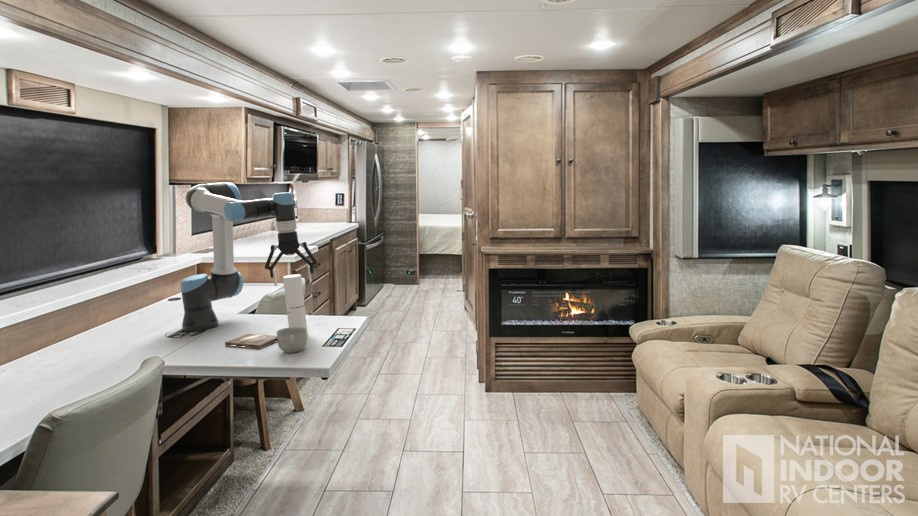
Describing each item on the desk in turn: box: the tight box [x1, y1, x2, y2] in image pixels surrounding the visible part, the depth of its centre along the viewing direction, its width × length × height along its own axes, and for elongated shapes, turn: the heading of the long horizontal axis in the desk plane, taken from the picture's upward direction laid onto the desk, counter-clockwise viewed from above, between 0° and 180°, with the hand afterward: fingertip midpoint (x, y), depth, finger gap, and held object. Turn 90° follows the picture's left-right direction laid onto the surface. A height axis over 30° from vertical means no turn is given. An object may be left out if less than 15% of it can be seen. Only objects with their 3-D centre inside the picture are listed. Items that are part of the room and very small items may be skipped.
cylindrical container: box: [282, 273, 309, 337], centre depth 245 cm, size 7×7×25 cm
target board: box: [224, 333, 278, 349], centre depth 242 cm, size 18×12×2 cm, turn 65°
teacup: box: [276, 327, 308, 353], centre depth 226 cm, size 14×11×8 cm
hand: (293, 283), depth 244 cm, fingers open, 13 cm apart
